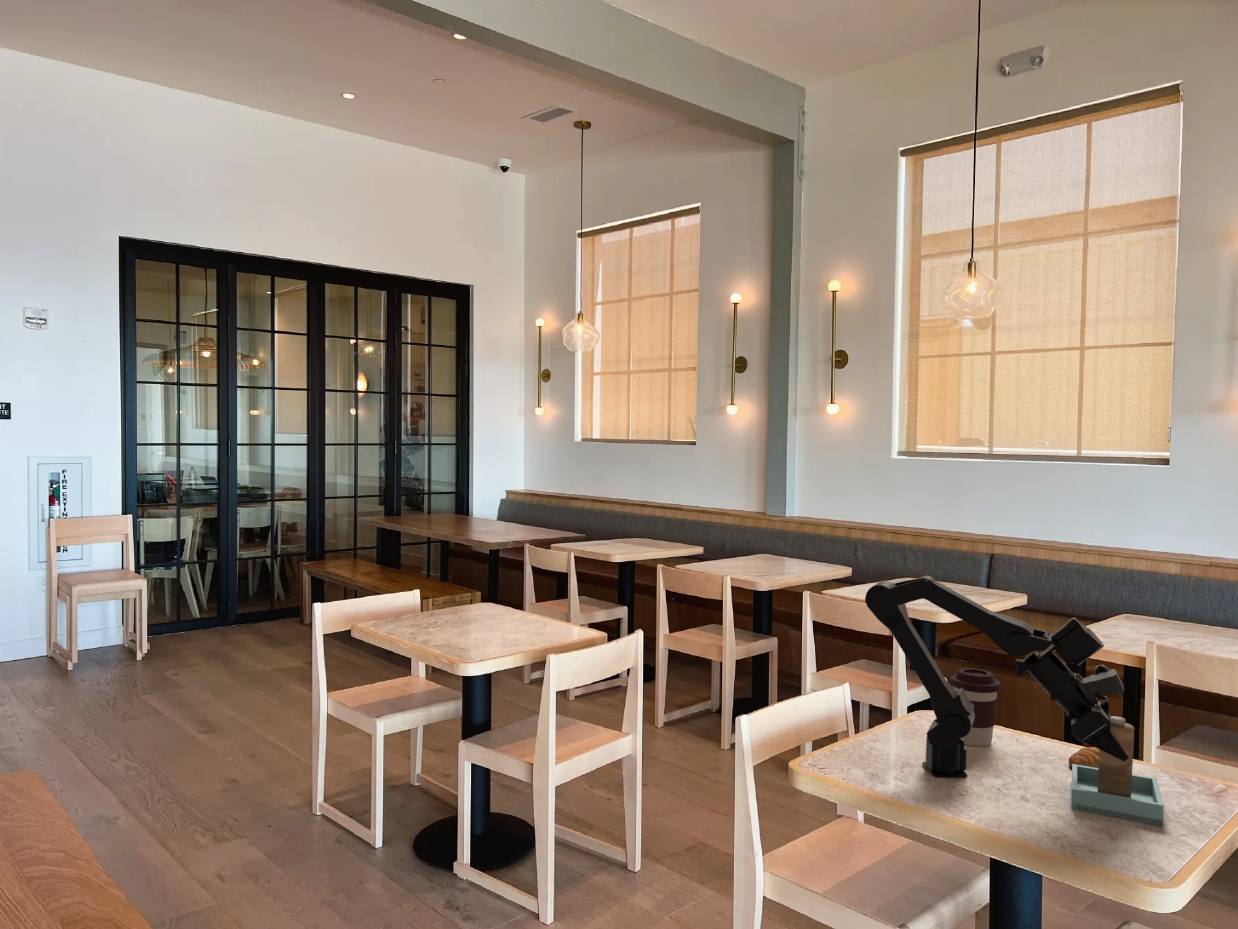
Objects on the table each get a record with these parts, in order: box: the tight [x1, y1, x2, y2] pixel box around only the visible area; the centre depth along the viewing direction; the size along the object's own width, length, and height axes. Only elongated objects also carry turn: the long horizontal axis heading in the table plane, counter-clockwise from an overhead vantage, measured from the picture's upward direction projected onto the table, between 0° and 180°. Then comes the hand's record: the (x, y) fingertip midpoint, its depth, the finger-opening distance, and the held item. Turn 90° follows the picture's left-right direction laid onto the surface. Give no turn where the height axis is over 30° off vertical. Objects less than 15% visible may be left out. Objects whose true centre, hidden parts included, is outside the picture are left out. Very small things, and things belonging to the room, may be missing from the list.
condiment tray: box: [1070, 764, 1164, 827], centre depth 154 cm, size 14×14×4 cm
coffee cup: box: [949, 667, 1002, 748], centre depth 185 cm, size 10×10×15 cm
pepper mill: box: [1097, 715, 1135, 798], centre depth 154 cm, size 5×5×14 cm
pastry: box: [1068, 746, 1099, 768], centre depth 172 cm, size 9×7×4 cm
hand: (1125, 751), depth 153 cm, fingers open, 9 cm apart
